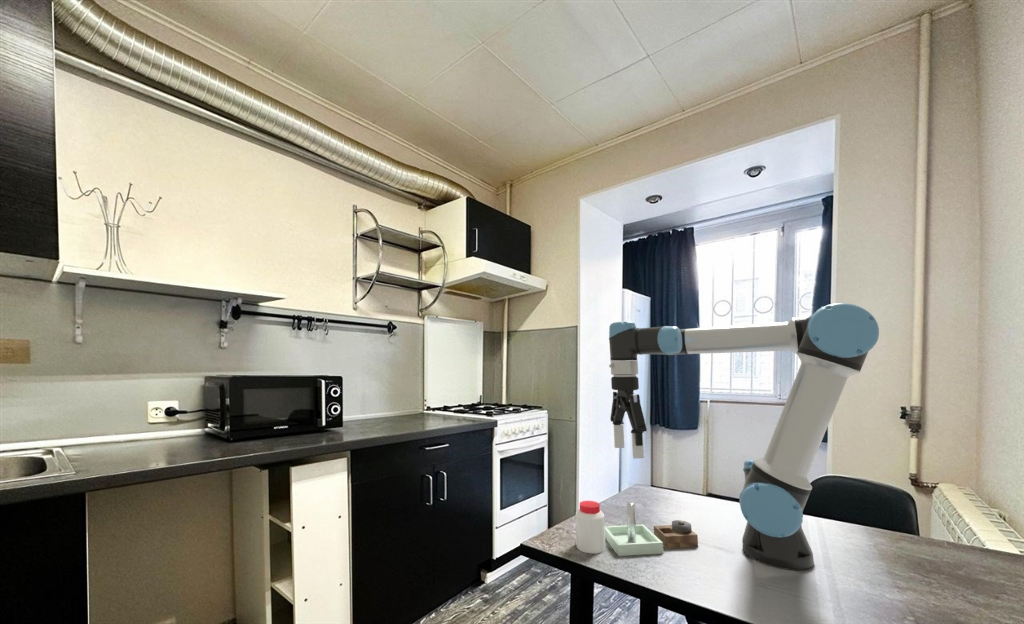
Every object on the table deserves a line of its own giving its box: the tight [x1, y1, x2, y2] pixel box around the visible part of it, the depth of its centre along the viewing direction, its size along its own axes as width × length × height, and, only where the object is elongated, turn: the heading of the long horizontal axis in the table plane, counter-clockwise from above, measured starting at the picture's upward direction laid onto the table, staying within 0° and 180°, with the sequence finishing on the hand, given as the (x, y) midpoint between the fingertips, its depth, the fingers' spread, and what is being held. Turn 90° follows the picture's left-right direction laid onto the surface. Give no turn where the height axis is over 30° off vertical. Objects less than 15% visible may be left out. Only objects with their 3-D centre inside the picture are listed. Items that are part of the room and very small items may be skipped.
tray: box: [605, 523, 664, 557], centre depth 109 cm, size 12×12×3 cm
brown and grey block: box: [653, 519, 699, 549], centre depth 110 cm, size 9×7×5 cm
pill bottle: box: [575, 500, 607, 554], centre depth 108 cm, size 8×8×11 cm
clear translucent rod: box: [626, 501, 637, 543], centre depth 109 cm, size 2×2×10 cm
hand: (628, 452), depth 112 cm, fingers open, 13 cm apart
